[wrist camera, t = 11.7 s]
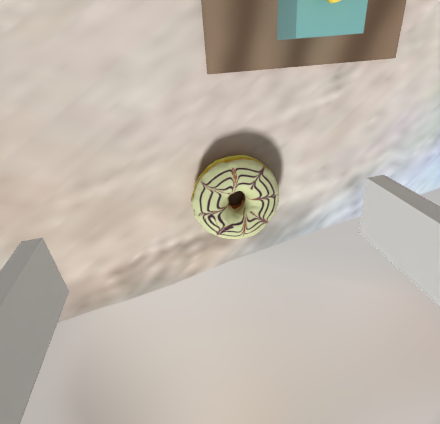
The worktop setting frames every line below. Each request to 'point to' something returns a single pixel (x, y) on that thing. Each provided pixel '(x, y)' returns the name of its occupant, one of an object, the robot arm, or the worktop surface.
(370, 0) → the walnut board
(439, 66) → the worktop surface
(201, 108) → the worktop surface
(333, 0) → the teapot
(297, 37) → the base brick
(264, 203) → the decorated donut
